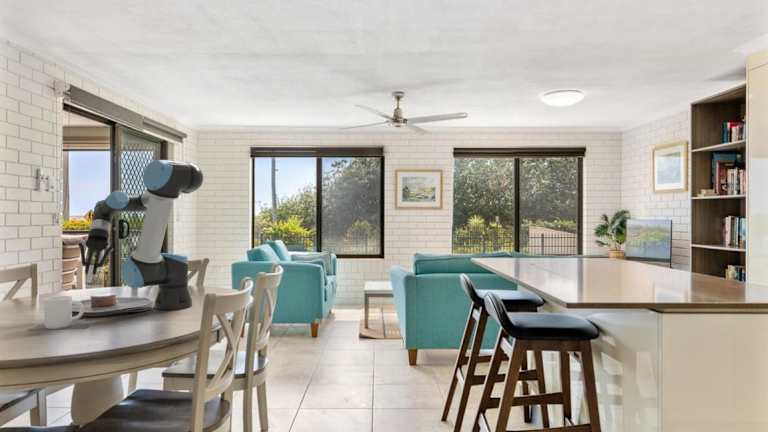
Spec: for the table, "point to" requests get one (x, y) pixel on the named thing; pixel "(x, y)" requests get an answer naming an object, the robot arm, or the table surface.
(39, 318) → the table surface
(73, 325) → the t mat
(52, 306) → the mug
